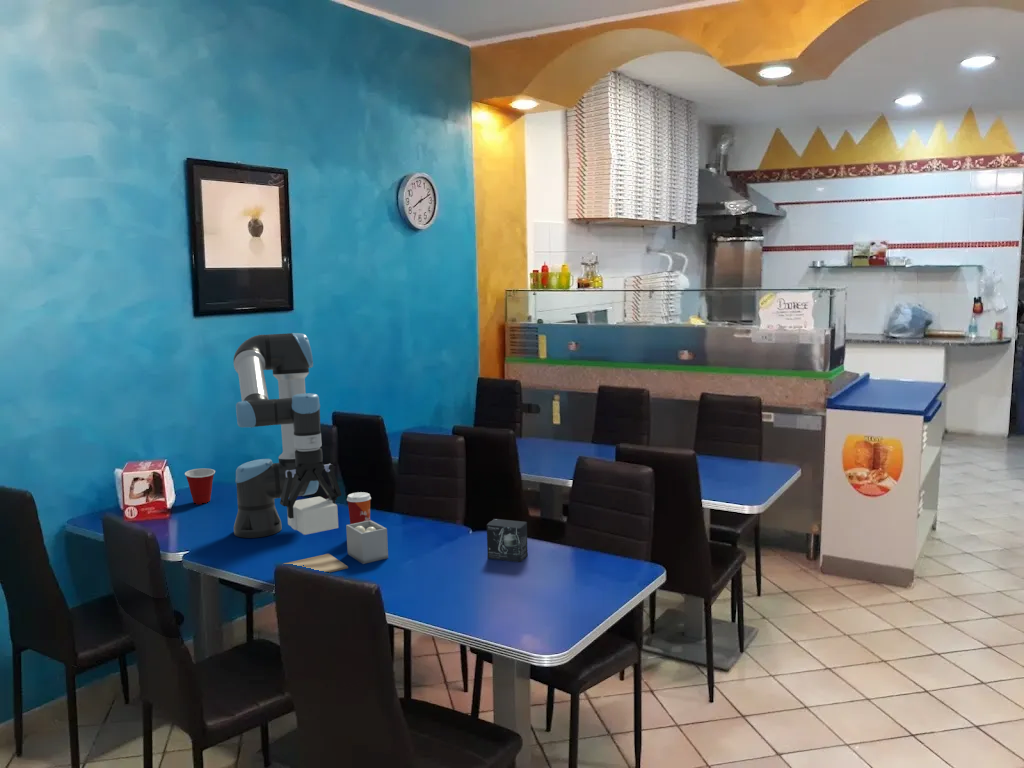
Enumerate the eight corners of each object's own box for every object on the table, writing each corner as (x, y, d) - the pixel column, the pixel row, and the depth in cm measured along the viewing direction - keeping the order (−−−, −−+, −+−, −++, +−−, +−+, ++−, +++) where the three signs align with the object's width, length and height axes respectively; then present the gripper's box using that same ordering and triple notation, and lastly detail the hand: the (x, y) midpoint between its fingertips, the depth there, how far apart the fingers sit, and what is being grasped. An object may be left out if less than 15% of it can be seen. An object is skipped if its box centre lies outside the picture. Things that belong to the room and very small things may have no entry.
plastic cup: (195, 508, 305) (193, 476, 303) (181, 503, 312) (179, 472, 310) (223, 501, 313) (220, 470, 311) (208, 497, 320) (206, 466, 318)
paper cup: (367, 541, 260) (365, 498, 259) (344, 540, 262) (342, 497, 260) (376, 534, 268) (374, 491, 266) (354, 533, 269) (352, 491, 268)
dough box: (347, 554, 249) (346, 525, 248) (372, 548, 254) (370, 520, 252) (363, 563, 240) (361, 533, 239) (388, 558, 245) (386, 528, 243)
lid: (288, 524, 239) (286, 502, 239) (321, 518, 245) (319, 496, 244) (304, 534, 229) (303, 511, 228) (338, 527, 234) (337, 505, 234)
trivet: (283, 565, 240) (282, 563, 240) (328, 555, 248) (328, 553, 248) (300, 579, 229) (300, 577, 229) (347, 568, 237) (347, 566, 237)
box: (486, 559, 242) (485, 524, 240) (495, 552, 248) (494, 518, 246) (520, 562, 238) (519, 527, 237) (528, 555, 244) (527, 521, 243)
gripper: (273, 456, 225) (278, 536, 227) (351, 445, 237) (355, 520, 240) (264, 452, 231) (269, 529, 234) (340, 441, 244) (344, 515, 246)
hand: (312, 525), depth 237 cm, fingers closed on lid, 10 cm apart
